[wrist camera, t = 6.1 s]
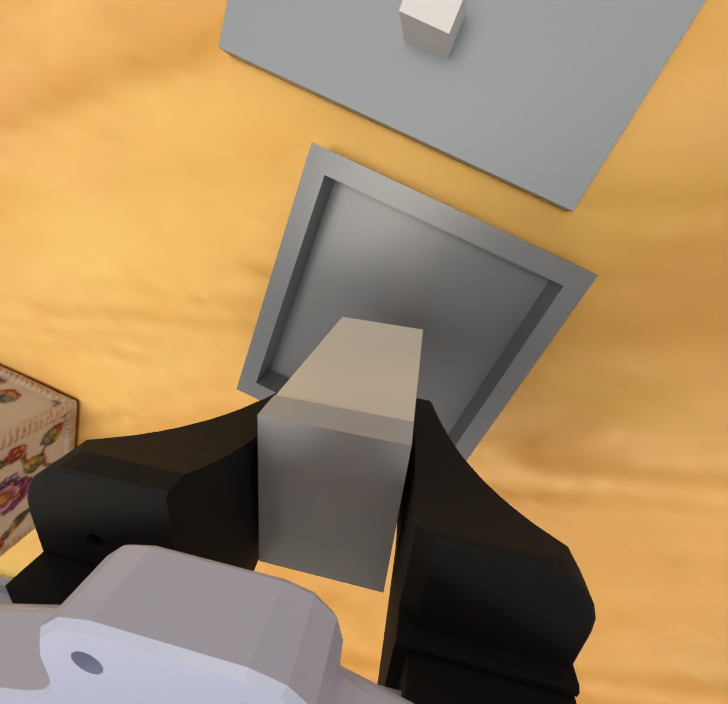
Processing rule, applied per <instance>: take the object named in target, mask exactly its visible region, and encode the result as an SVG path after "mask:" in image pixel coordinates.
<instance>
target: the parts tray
mask: <svg viewBox="0 0 728 704" xmlns="http://www.w3.org/2000/svg"><path fill="white" fill-rule="evenodd" d="M597 276H598V275H597V274H594V273H592V272H590V271H588V270H586V269H584V268H582V267H579V266H577V265H575V264H573V263H571V262H569V261H566V260H564V259H562V258H560V257H558V256H556V255H554V254H551V253H549V252H547V251H545V250H543V249H541V248H538V247H536V246H534V245H532V244H530V243H528V242H525V241H523V240H521V239H519V238H517V237H515V236H513V235H510V234H508V233H506V232H504V231H502V230H500V229H497V228H495V227H493V226H491V225H489V224H487V223H485V222H482V221H480V220H478V219H476V218H474V217H472V216H469V215H467V214H465V213H463V212H461V211H459V210H456V209H454V208H452V207H450V206H448V205H446V204H444V203H441V202H439V201H437V200H435V199H433V198H431V197H428V196H426V195H424V194H422V193H420V192H418V191H416V190H413V189H411V188H409V187H407V186H405V185H403V184H400V183H398V182H396V181H394V180H392V179H390V178H388V177H385V176H383V175H381V174H379V173H377V172H375V171H372V170H370V169H368V168H366V167H364V166H362V165H359V164H357V163H355V162H353V161H351V160H349V159H347V158H344V157H342V156H340V155H338V154H336V153H334V152H331V151H329V150H327V149H325V148H323V147H321V146H319V145H316V144H314V143H312V144H311V147H310V150H309V153H308V157H307V160H306V163H305V167H304V170H303V173H302V176H301V180H300V183H299V186H298V190H297V193H296V196H295V199H294V203H293V206H292V209H291V213H290V216H289V219H288V222H287V226H286V229H285V232H284V235H283V239H282V242H281V245H280V249H279V252H278V255H277V258H276V262H275V265H274V268H273V272H272V275H271V278H270V281H269V285H268V288H267V291H266V295H265V298H264V301H263V304H262V308H261V311H260V314H259V318H258V321H257V324H256V327H255V331H254V334H253V337H252V341H251V344H250V347H249V350H248V354H247V357H246V360H245V364H244V367H243V370H242V373H241V377H240V380H239V383H238V386H237V389H238V390H240V391H242V392H244V393H246V394H248V395H250V396H252V397H255V398H257V399H259V400H262V399H265V398H267V397H269V396H271V395H273V394H275V393H277V392H279V391H280V390H281V389H282V387H283V386H284V385H285V384H286V383H287V381H288V380H289V379H290V378H291V377H292V376H293V374H294V373H295V372H296V371H297V370H298V369H299V367H300V366H301V365H302V364H303V363H304V361H305V360H306V359H307V358H308V357H309V356H310V354H311V353H312V352H313V351H314V350H315V348H316V347H317V346H318V345H319V344H320V343H321V341H322V340H323V339H324V338H325V337H326V335H327V334H328V333H329V332H330V331H331V330H332V328H333V327H334V326H335V325H336V324H337V323H338V321H339V320H340V319H341V318H342V317H347V318H353V319H360V320H366V321H372V322H379V323H385V324H391V325H397V326H404V327H410V328H416V329H423V335H422V345H421V355H420V365H419V375H418V385H417V395H416V398H418V399H424V400H429V401H431V403H432V404H433V406H434V409H435V411H436V413H437V415H438V417H439V419H440V421H441V423H442V425H443V427H444V429H445V430H446V432H447V434H448V435H449V437H450V439H451V440H452V442H453V444H454V445H455V447H456V448H457V449H458V451H459V452H460V454H461V455H462V457H463V458H464V459H465V460H467V459H468V457H469V456H470V455H471V453H472V452H473V450H474V449H475V448H476V446H477V445H478V443H479V442H480V440H481V439H482V438H483V436H484V435H485V433H486V432H487V431H488V429H489V428H490V426H491V425H492V424H493V422H494V421H495V419H496V418H497V417H498V415H499V414H500V412H501V411H502V410H503V408H504V407H505V405H506V404H507V402H508V401H509V400H510V398H511V397H512V395H513V394H514V393H515V391H516V390H517V388H518V387H519V386H520V384H521V383H522V381H523V380H524V379H525V377H526V376H527V374H528V373H529V372H530V370H531V369H532V367H533V366H534V364H535V363H536V362H537V360H538V359H539V357H540V356H541V355H542V353H543V352H544V350H545V349H546V348H547V346H548V345H549V343H550V342H551V341H552V339H553V338H554V336H555V335H556V334H557V332H558V331H559V329H560V328H561V326H562V325H563V324H564V322H565V321H566V319H567V318H568V317H569V315H570V314H571V312H572V311H573V310H574V308H575V307H576V305H577V304H578V303H579V301H580V300H581V298H582V297H583V296H584V294H585V293H586V291H587V290H588V288H589V287H590V286H591V284H592V283H593V281H594V280H595V279H596V277H597Z"/></svg>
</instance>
